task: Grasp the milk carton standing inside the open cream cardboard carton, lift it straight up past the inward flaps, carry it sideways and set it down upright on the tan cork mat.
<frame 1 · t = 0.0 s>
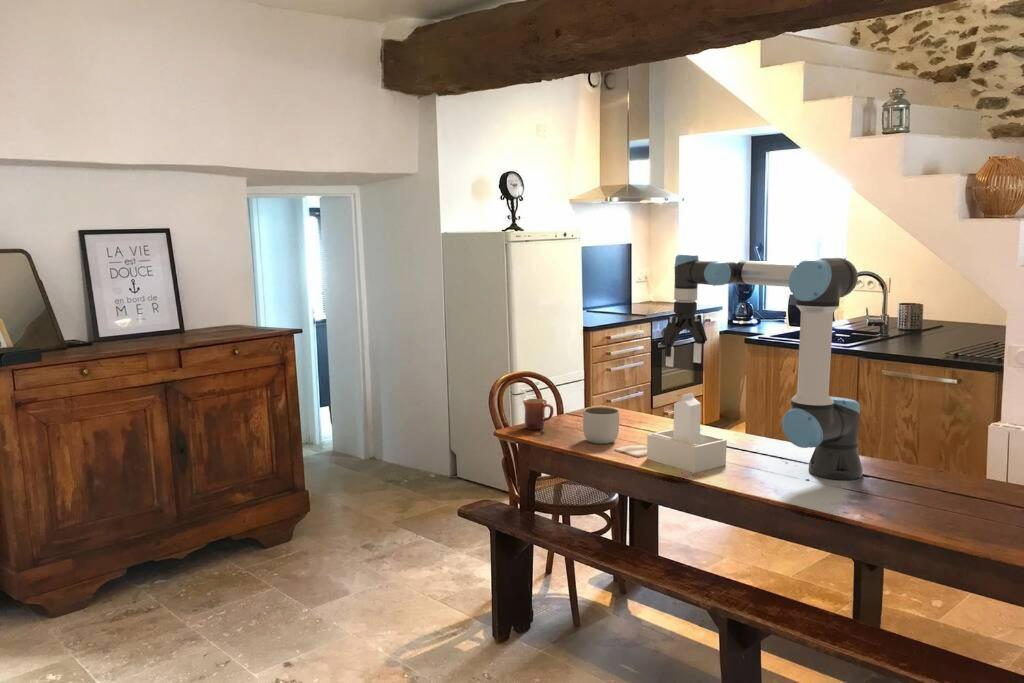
hand: (683, 364, 277), 28 cm above the table, fingers open, 13 cm apart
milk: (685, 462, 261), resting in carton
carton: (685, 461, 261), on the table
planter: (600, 442, 287), on the table
mat: (638, 451, 274), on the table
mug: (538, 429, 305), on the table
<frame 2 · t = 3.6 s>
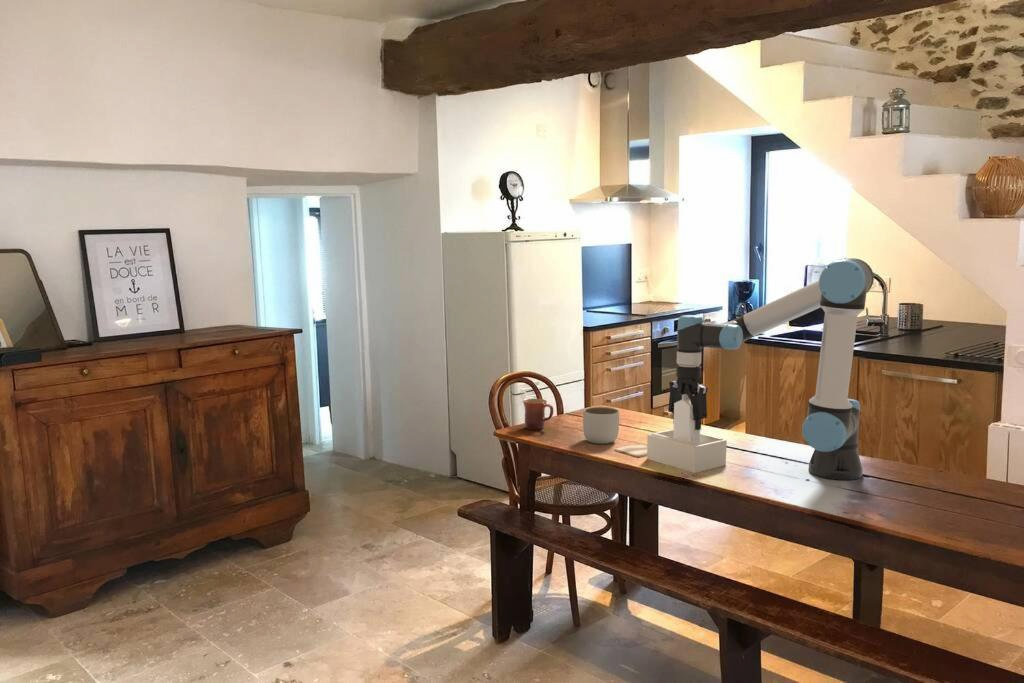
hand: (686, 437, 260), 8 cm above the table, fingers closed on milk, 6 cm apart
milk: (685, 462, 261), resting in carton, touching gripper
everything else where it was.
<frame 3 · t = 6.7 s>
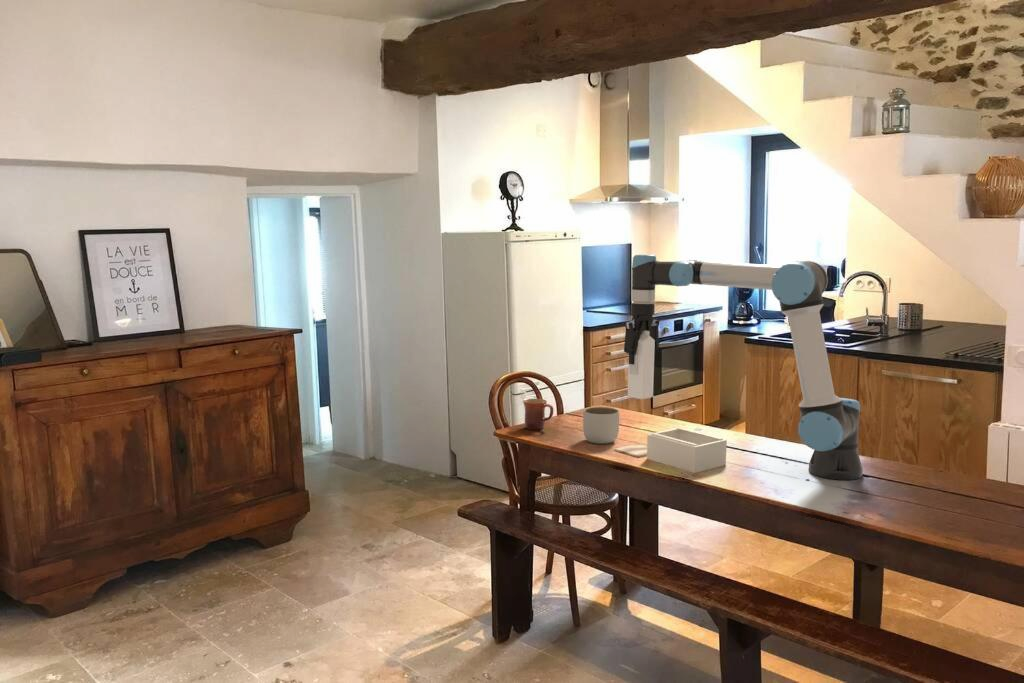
hand: (640, 372, 270), 26 cm above the table, fingers closed on milk, 6 cm apart
milk: (640, 397, 271), point 18 cm above the table, touching gripper
everything else where it was.
when the fingers open (10 cm above the table, at t = 10.2 s): milk drops 1 cm, resting on mat.
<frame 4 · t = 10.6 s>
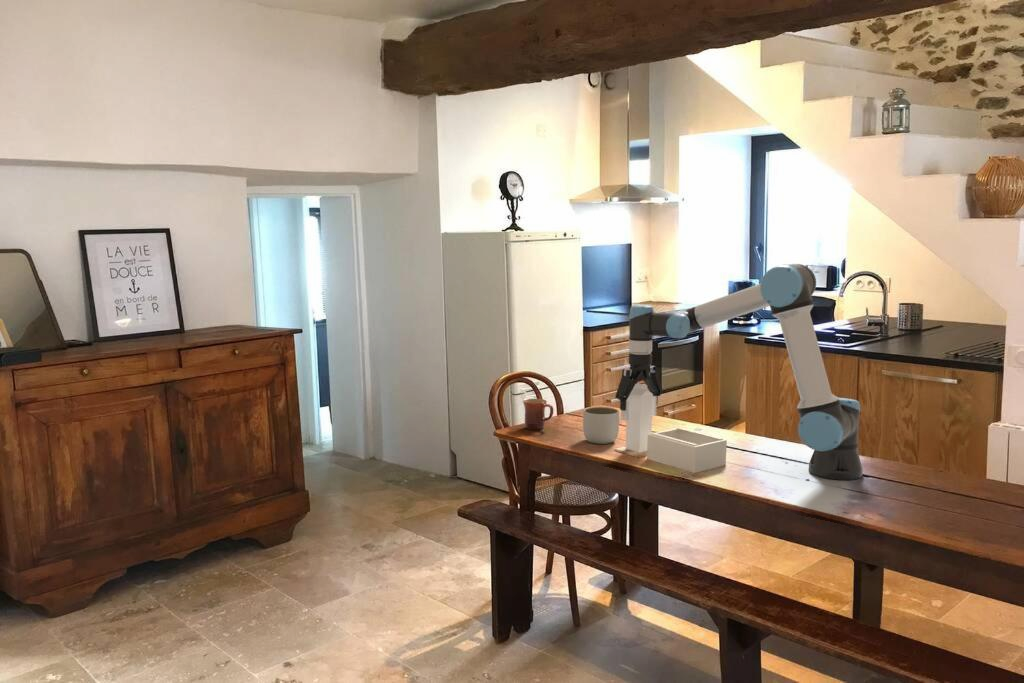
hand: (638, 417, 272), 11 cm above the table, fingers open, 12 cm apart
milk: (638, 450, 274), resting on mat
everything else where it was.
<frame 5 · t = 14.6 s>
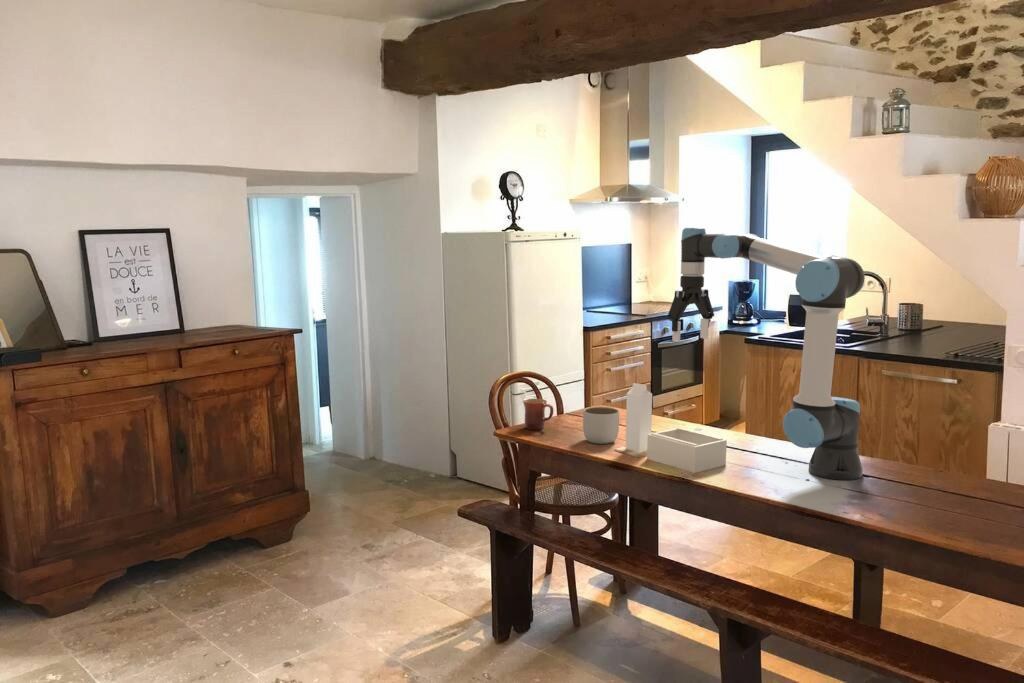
hand: (690, 339, 273), 37 cm above the table, fingers open, 13 cm apart
nothing on the table moved.
at the end: milk inside the target area on the mat (0.1 cm from its centre), point 0.4 cm above the mat's base; milk tilted 0°; the gripper is holding nothing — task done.
